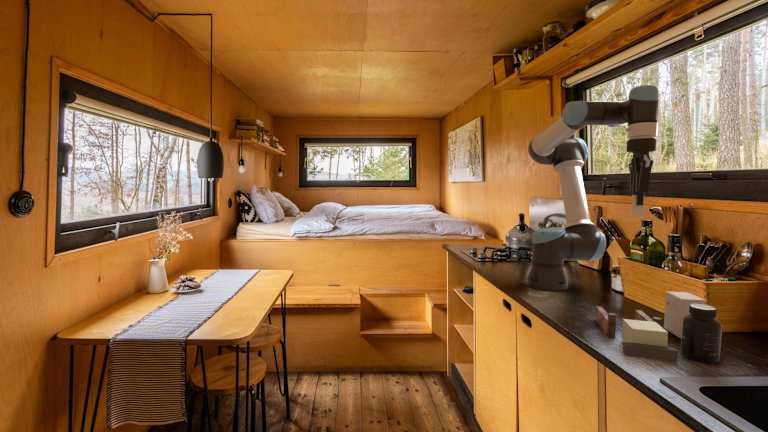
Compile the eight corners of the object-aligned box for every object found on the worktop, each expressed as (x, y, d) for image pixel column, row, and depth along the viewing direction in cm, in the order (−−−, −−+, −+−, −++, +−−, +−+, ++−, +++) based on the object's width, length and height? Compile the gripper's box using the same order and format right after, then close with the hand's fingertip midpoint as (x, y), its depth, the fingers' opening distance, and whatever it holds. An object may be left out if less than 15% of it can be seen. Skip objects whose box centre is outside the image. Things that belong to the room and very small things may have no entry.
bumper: (622, 352, 87) (623, 341, 87) (673, 358, 84) (673, 347, 84) (625, 355, 85) (626, 345, 85) (677, 362, 82) (677, 351, 82)
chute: (595, 319, 109) (596, 299, 109) (640, 323, 105) (641, 303, 105) (608, 337, 96) (609, 314, 95) (660, 343, 92) (662, 319, 92)
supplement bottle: (672, 351, 87) (675, 301, 87) (699, 350, 88) (702, 301, 87) (699, 365, 81) (702, 311, 80) (728, 364, 81) (732, 310, 80)
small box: (704, 340, 94) (707, 300, 93) (680, 339, 95) (682, 299, 94) (686, 329, 102) (688, 292, 101) (663, 327, 103) (665, 290, 102)
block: (621, 342, 93) (622, 318, 93) (654, 345, 91) (655, 321, 91) (631, 353, 86) (632, 328, 86) (666, 357, 84) (668, 332, 84)
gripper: (620, 141, 119) (617, 214, 121) (634, 136, 107) (630, 217, 108) (647, 141, 117) (643, 215, 119) (665, 135, 105) (660, 217, 106)
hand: (637, 216), depth 114 cm, fingers closed
